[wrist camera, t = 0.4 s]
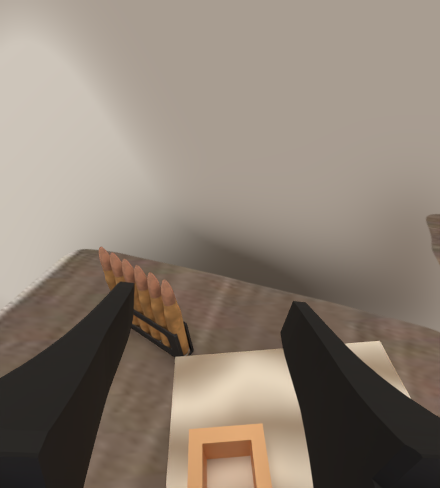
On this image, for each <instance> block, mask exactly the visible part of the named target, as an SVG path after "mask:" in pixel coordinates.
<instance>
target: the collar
mask: <svg viewBox="0 0 440 488" xmlns="http://www.w3.org/2000/svg"><path fill="white" fill-rule="evenodd" d="M242 456H251V465H252V474H253V483H254V488H272V483H271V476H270V469H269V463H268V456H267V449H266V443H265V436H264V430H263V423H260V424H247V425H235V426H222V427H209V428H197V429H189V446H188V482H187V488H207V459H217V458H229V457H242Z"/></svg>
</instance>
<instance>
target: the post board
mask: <svg viewBox="0 0 440 488" xmlns="http://www.w3.org/2000/svg"><path fill="white" fill-rule="evenodd" d="M345 345H346V346H347V347H348V348H349V349H350V350H351V351H352V352H354V353H355V354H356V355H357V356H358V357H359V358H360V359H361V360H362V361H363V362H364V363H365V364H367V365H368V366H369V367H370V368H371V369H373V370H374V371H375V372H376V373H377V374H378V375H380V376H381V377H382V378H383V379H385V380H386V381H387V382H389V383H390V384H391V385H393V386H394V387H395V388H397V389H398V390H399V391H401V392H402V393H403V394H405V395H406V396H408V397H409V398H410V396H409V394H408V392H407V390H406V389H405V387H404V385H403V383H402V381H401V379H400V377H399V376H398V374H397V372H396V370H395V368H394V366H393V365H392V363H391V361H390V359H389V357H388V355H387V354H386V352H385V350H384V348H383V346H382V344H381V342H380V341H374V342H361V343H348V344H345ZM410 399H411V398H410ZM260 423H263V430H264V436H265V443H266V449H267V456H268V463H269V469H270V476H271V483H272V488H313V481H312V475H311V468H310V461H309V455H308V449H307V443H306V437H305V432H304V426H303V421H302V416H301V411H300V407H299V403H298V400H297V396H296V393H295V390H294V386H293V383H292V380H291V376H290V373H289V370H288V366H287V363H286V359H285V356H284V351H283V349H271V350H258V351H245V352H232V353H219V354H206V355H193V356H180V357H175V370H174V384H173V398H172V412H171V426H170V439H169V453H168V467H167V481H166V488H187V482H188V446H189V429H197V428H209V427H222V426H235V425H247V424H260ZM207 488H254V483H253V474H252V465H251V456H242V457H229V458H217V459H207Z"/></svg>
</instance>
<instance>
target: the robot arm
mask: <svg viewBox="0 0 440 488" xmlns="http://www.w3.org/2000/svg"><path fill="white" fill-rule="evenodd" d="M134 290H135V283H130V282H121V281H120V282H119V283H117V285H116V286H115V287H114V288H113V289H112V290H111V292H110V293H109V294H108V295H107V296H106V297H105V298H104V299H103V300H102V301H101V302H100V303H99V304H98V305H97V306H96V307H95V308H94V309H93V310H92V311H91V312H90V313H89V314H88V315H87V316H86V317H85V318H84V319H83V320H81V321H80V322H79V323H78V324H77V325H76V326H75V327H74V328H72V329H71V330H70V331H69V332H68V333H66V334H65V335H64V336H63V337H61V338H60V339H59V340H57V341H56V342H55V343H53V344H52V345H51V346H49V347H48V348H47V349H45V350H44V351H42V352H41V353H39V354H38V355H37V356H35V357H34V358H32V359H31V360H29V361H28V362H26V363H25V364H23V365H21V366H20V367H18V368H16V369H15V370H13V371H11V372H10V373H8V374H6V375H5V376H3V377H1V378H0V488H83V487H84V482H85V478H86V474H87V470H88V466H89V462H90V458H91V455H92V451H93V447H94V443H95V439H96V435H97V431H98V428H99V424H100V420H101V416H102V413H103V409H104V405H105V402H106V398H107V395H108V392H109V389H110V386H111V384H112V381H113V378H114V376H115V373H116V370H117V368H118V365H119V362H120V360H121V357H122V354H123V352H124V349H125V346H126V343H127V341H128V337H129V333H130V329H131V325H132V321H133V313H134ZM281 339H282V345H283V351H284V356H285V359H286V363H287V366H288V370H289V373H290V376H291V380H292V383H293V386H294V390H295V393H296V396H297V400H298V403H299V407H300V411H301V416H302V421H303V426H304V432H305V437H306V443H307V449H308V455H309V461H310V468H311V475H312V481H313V488H440V418H439V417H438V416H436V415H434V414H433V413H431V412H430V411H428V410H427V409H425V408H424V407H422V406H421V405H419V404H418V403H416V402H415V401H413V400H412V399H410V398H409V397H408V396H406V395H405V394H403V393H402V392H401V391H399V390H398V389H397V388H395V387H394V386H393V385H391V384H390V383H389V382H387V381H386V380H385V379H383V378H382V377H381V376H380V375H378V374H377V373H376V372H375V371H374V370H373V369H371V368H370V367H369V366H368V365H367V364H365V363H364V362H363V361H362V360H361V359H360V358H359V357H358V356H357V355H356V354H355V353H354V352H352V351H351V350H350V349H349V348H348V347H347V346H346V345H345V344H344V343H343V342H342V341H341V340H340V339H339V338H338V337H337V336H336V335H335V333H334V332H333V331H332V330H331V329H330V328H329V327H328V326H327V325H326V324H325V323H324V322H323V321H322V319H321V318H320V317H319V316H318V315H317V314H316V313H315V312H314V311H313V310H312V309H311V308H310V306H309V305H308V304H307V303H305V302H296V301H293V303H292V305H291V308H290V310H289V313H288V315H287V318H286V320H285V323H284V325H283V327H282V330H281Z"/></svg>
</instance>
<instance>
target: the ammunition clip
mask: <svg viewBox="0 0 440 488" xmlns="http://www.w3.org/2000/svg"><path fill="white" fill-rule="evenodd" d="M99 258H100V262H101V265H102V267H103V271H104V273H105V278H106V282H107V284H108V286H109V288H110V291H111V290H112V289H113V288H114V287H115V286H116V285H117V283H119V282H120V281H121V282H130V283H135V290H134V313H133V321H132V325H131V328H132V329H134V330H135V331H137V332H138V333H140V334H141V335H143V336H144V337H146V338H147V339H149V340H150V341H151V342H153V343H154V344H156V345H157V346H159V347H160V348H162V349H163V350H165V351H166V352H168V353H169V354H171V355H172V356H174V357H180V356H190V354H191V353H192V352H193V351H194V350H193V346H192V342H191V338H190V334H189V331H188V327H187V323H185V322H184V321H183V319H182V315H181V311H180V308H179V306H178V304H177V301H176V299H175V295H174V292H173V290H172V288H171V286H170V284H169V283H168V282H167V281H166V280H163V281H162V285H161V287H160V284H159V282H158V280H157V279H156V277H155V276H154V275H153V274H152V273H151V272H149V274H148V277H146V275H145V273H144V272H143V270H142V269H141V268H140V267H139V266H137V265H136V266H135V270H134V269H133V267H132V266H131V264H130V263H129V262H128V261H127V260H126V259H123V261H122V263H121V261H120V259H119V258H118V257H117V256H116V255H115V254H114V253H111V255H109V254H108V252H107V251H106V250H105V249H104V248H103V247H100V248H99Z"/></svg>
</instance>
